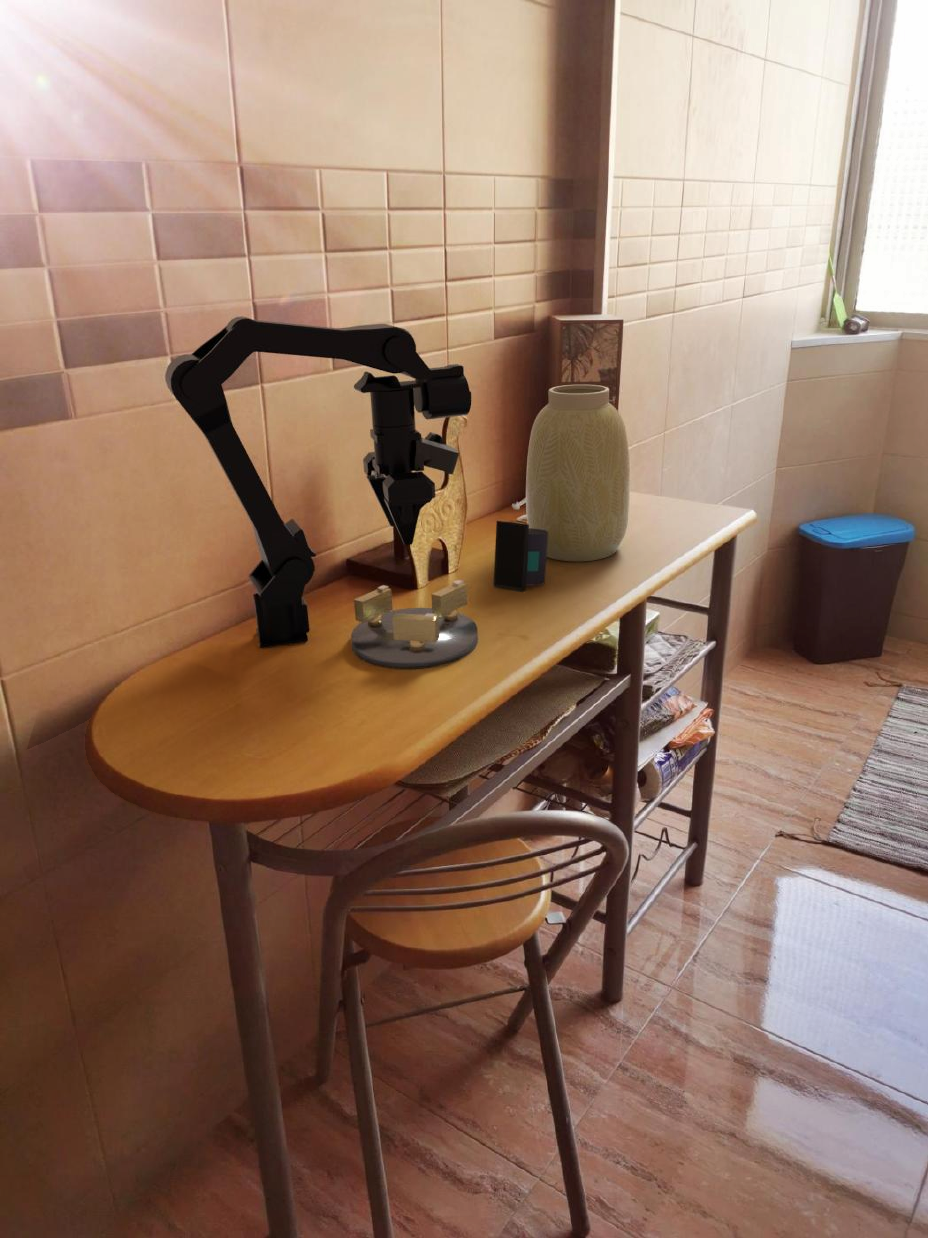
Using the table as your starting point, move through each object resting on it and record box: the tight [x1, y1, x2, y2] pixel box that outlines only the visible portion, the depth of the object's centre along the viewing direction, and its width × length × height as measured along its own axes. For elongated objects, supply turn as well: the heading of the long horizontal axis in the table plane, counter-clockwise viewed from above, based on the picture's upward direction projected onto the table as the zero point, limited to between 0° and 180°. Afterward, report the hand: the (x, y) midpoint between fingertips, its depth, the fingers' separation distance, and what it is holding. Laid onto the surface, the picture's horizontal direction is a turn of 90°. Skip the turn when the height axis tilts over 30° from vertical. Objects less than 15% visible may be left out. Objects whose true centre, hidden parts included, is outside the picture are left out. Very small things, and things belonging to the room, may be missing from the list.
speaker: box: [493, 520, 548, 593], centre depth 142 cm, size 8×6×10 cm
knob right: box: [430, 579, 468, 622], centre depth 127 cm, size 6×2×5 cm, turn 142°
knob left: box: [353, 584, 394, 628], centre depth 126 cm, size 6×2×5 cm, turn 141°
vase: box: [525, 384, 631, 562], centre depth 154 cm, size 17×17×27 cm
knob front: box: [392, 613, 439, 652], centre depth 118 cm, size 6×2×5 cm, turn 75°
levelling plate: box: [350, 607, 479, 670], centre depth 125 cm, size 17×17×2 cm
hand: (401, 534), depth 130 cm, fingers open, 9 cm apart
